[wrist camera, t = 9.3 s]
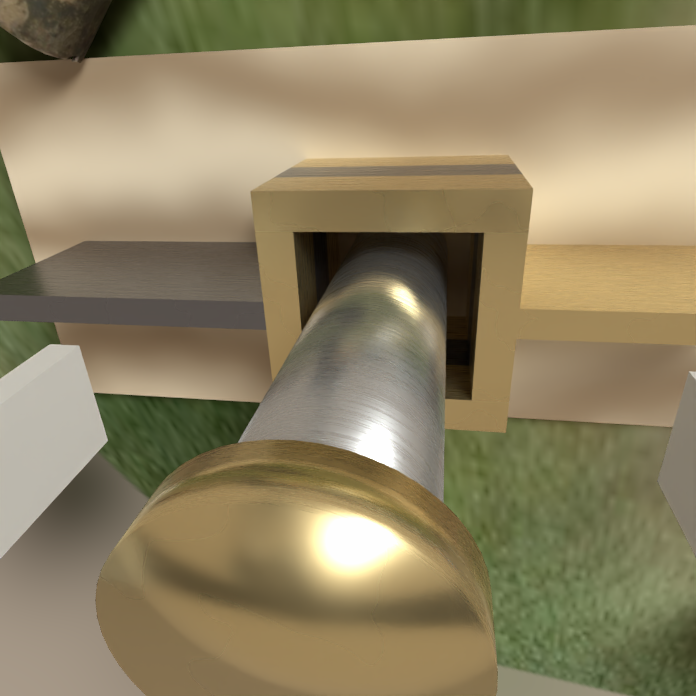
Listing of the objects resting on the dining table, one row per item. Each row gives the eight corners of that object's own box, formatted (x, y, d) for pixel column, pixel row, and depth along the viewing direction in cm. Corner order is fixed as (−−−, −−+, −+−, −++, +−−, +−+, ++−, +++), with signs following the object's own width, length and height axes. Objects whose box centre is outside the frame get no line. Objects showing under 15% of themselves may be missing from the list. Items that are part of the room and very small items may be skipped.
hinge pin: (335, 190, 22) (46, 484, 6) (468, 189, 21) (520, 529, 5) (341, 310, 25) (142, 741, 9) (461, 313, 24) (481, 802, 8)
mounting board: (-5, 65, 24) (-26, 64, 22) (922, 15, 18) (952, 11, 17) (88, 380, 31) (75, 391, 30) (770, 418, 25) (784, 433, 24)
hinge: (64, 163, 24) (-70, 193, 18) (832, 148, 19) (1019, 184, 13) (107, 327, 27) (8, 400, 21) (762, 351, 22) (881, 457, 16)
